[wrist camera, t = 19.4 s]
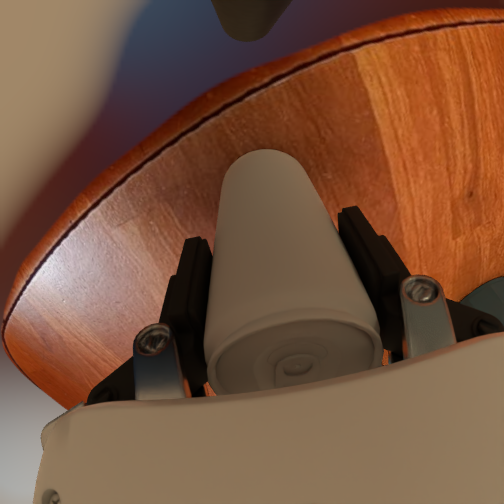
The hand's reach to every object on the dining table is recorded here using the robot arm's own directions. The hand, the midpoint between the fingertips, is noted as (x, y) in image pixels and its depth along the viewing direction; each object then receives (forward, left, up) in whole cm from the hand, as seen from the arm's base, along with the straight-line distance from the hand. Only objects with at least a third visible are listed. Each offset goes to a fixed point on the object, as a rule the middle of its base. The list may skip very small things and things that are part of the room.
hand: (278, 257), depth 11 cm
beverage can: (0, 0, -7) cm, 7 cm away
